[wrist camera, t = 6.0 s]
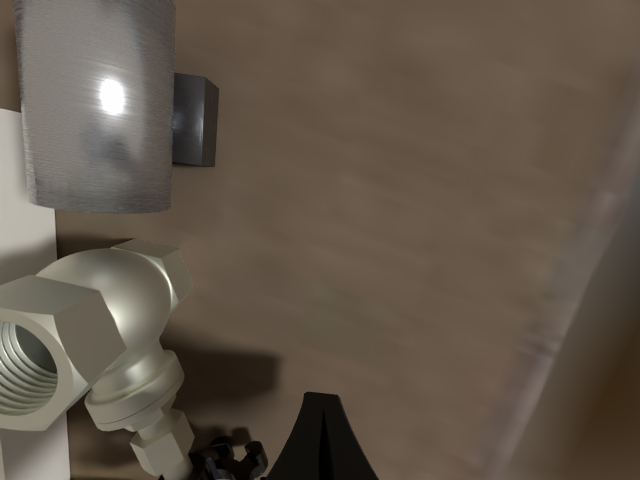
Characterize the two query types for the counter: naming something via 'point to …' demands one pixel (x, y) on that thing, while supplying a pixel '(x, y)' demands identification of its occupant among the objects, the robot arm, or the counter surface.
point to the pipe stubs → (107, 104)
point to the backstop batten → (14, 263)
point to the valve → (108, 356)
